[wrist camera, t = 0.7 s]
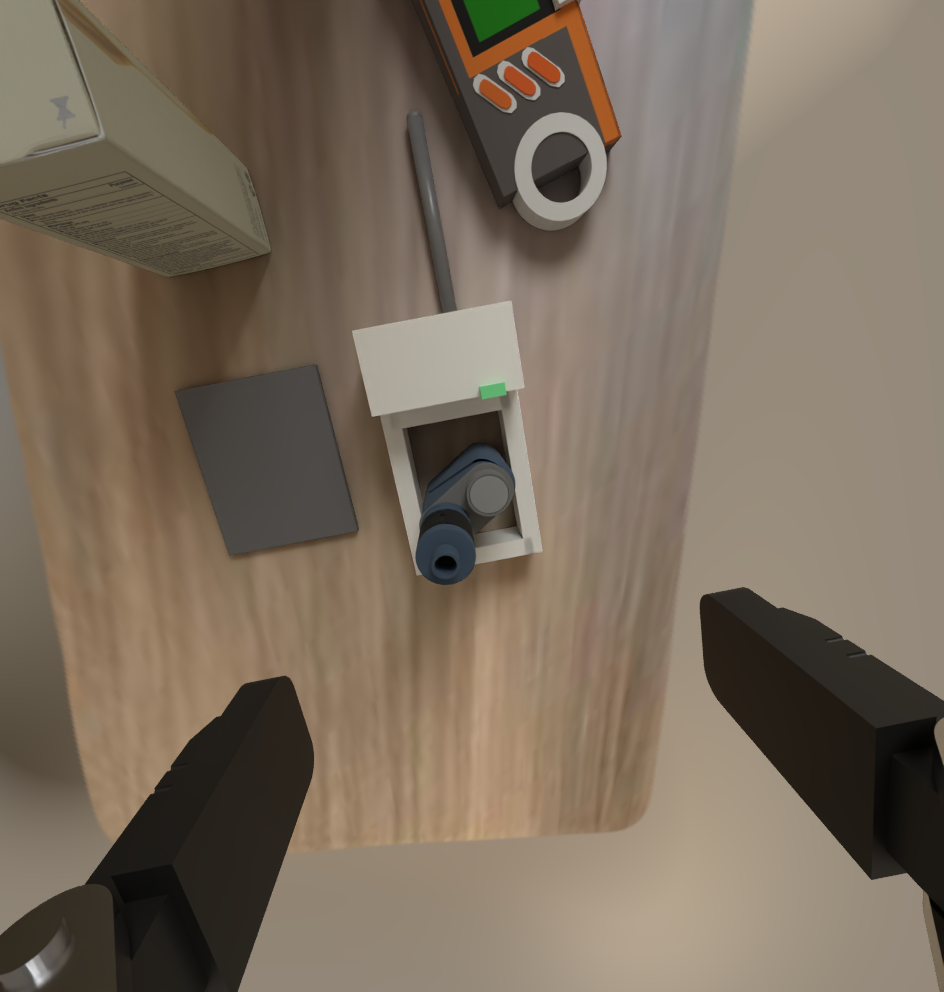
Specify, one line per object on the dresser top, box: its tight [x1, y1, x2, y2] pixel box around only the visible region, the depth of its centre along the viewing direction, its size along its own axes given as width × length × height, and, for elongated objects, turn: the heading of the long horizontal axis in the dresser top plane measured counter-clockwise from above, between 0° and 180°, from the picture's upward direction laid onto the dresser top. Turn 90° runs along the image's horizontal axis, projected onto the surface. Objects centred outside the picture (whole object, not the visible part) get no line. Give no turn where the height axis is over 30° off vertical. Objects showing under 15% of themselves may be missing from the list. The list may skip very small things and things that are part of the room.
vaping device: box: [415, 442, 515, 585], centre depth 22 cm, size 3×5×12 cm, turn 132°
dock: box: [352, 110, 543, 576], centre depth 24 cm, size 24×8×5 cm, turn 11°
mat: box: [175, 365, 359, 556], centre depth 27 cm, size 10×8×1 cm
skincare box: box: [0, 0, 271, 277], centre depth 18 cm, size 6×4×12 cm
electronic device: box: [412, 0, 621, 231], centre depth 23 cm, size 7×3×15 cm
